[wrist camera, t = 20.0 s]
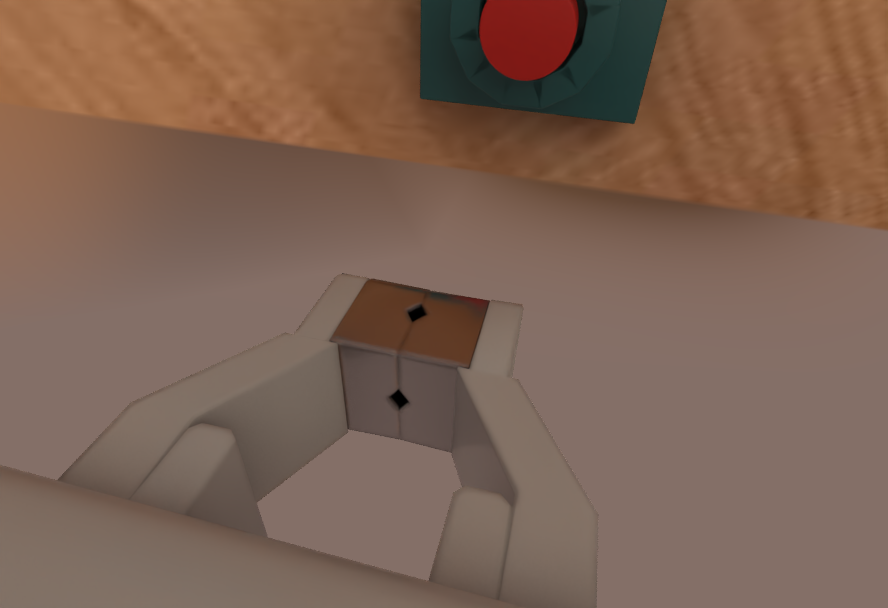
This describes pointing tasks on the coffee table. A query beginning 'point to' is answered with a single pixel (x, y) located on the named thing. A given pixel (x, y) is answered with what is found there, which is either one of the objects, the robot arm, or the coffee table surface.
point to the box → (568, 87)
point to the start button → (528, 35)
